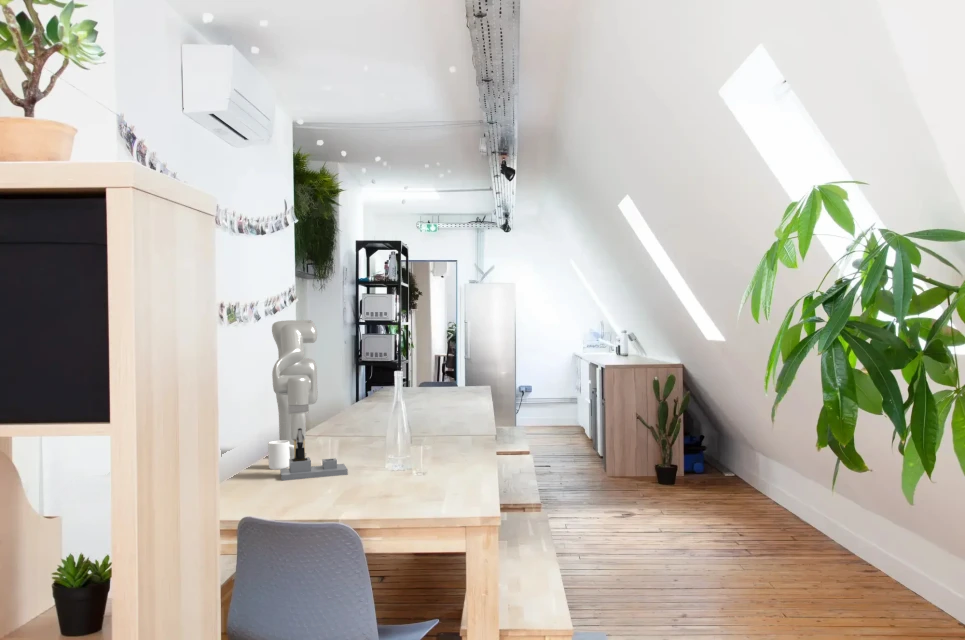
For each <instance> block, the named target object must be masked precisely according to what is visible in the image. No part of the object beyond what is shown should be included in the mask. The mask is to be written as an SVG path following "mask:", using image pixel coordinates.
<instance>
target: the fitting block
mask: <svg viewBox="0 0 965 640" xmlns="http://www.w3.org/2000/svg"><path fill="white" fill-rule="evenodd" d="M321 460H322V461H321V462H322V465H316V466H312V459H311V457H308V456H307V457H305V461H295V462H294V459H289V467H288V468H285V469H279V470H280V472H279V473H280V478H281V479H280V480H281V481H289V480H290V481H292V480H302V479H303V480H304V479H315V478H326V477H335V476H344V475H346V476H347V475H348V474H349V471H348V468H347V466H346V465H345V463H338V461H337V459H336V457H335V458H334V457H333V458H324V459H323V458H322V459H321Z"/></svg>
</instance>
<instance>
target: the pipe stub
mask: <svg viewBox="0 0 965 640" xmlns="http://www.w3.org/2000/svg"><path fill="white" fill-rule="evenodd" d="M303 437H304V436H303ZM297 440H299V439H298V438H297ZM305 440H306V439H305ZM305 440H304V453H306V441H305ZM305 458H306V457H305ZM305 458H304V459H296V439H294V462H295V461H305Z"/></svg>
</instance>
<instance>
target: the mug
mask: <svg viewBox="0 0 965 640" xmlns="http://www.w3.org/2000/svg"><path fill="white" fill-rule="evenodd" d="M267 444H268V445H267V453H268V468H269V469H270V470H280V469H288V468H289V459H290V448H291V449H294V445H289V441H286V440H280V441H279V440H273V441H269V442H268V443H267Z"/></svg>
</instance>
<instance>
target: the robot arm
mask: <svg viewBox="0 0 965 640" xmlns="http://www.w3.org/2000/svg"><path fill="white" fill-rule="evenodd" d="M271 333H272V337H273V340H274V342H275V345H276V347H277V352H278V353H277V354H278V359H277V360H276V361H275V363H274V365H273V367H272V374H271V375H272V376H271V377H272V387H273V392H274V393H275V398H276V403H277V410H278V430H279V431H278V434H279V435H278V437H279V438H278V439H279V440H278V441H280V440H286V441H289V445H294V439H296V459H304V458H306V456H307V453H306V452H305V453H304V440H306V438H307V437H306V435H307V434H306V433H307V432H306V431H307V429H306V428H307V421H306V420H307V419H306V417H307V416H306V414H308V413H309V412H310V411H309V410H310V408H309V407H310V406H311V405H315V404H316V403H317V402H318V398H319V397H318V396H319V395H318V370H317V368H318V367H317V364H316V363H317V362H316V361H315V360H314V359H313V358H310V357H309V358H306V357H305V351H304V350H305V349H304V344H314V343H316V341H317V339H318V330H317V326H316V325H315V323H314V322H313V321H312V320H309V319H303V320H302V319H300V320H298V319H295V320H278V321H276V322H274V323H272V325H271ZM304 357H305V358H304ZM303 436H304V437H303ZM297 438H298V439H299V440H297ZM290 459H294V449H291V448H290Z"/></svg>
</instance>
